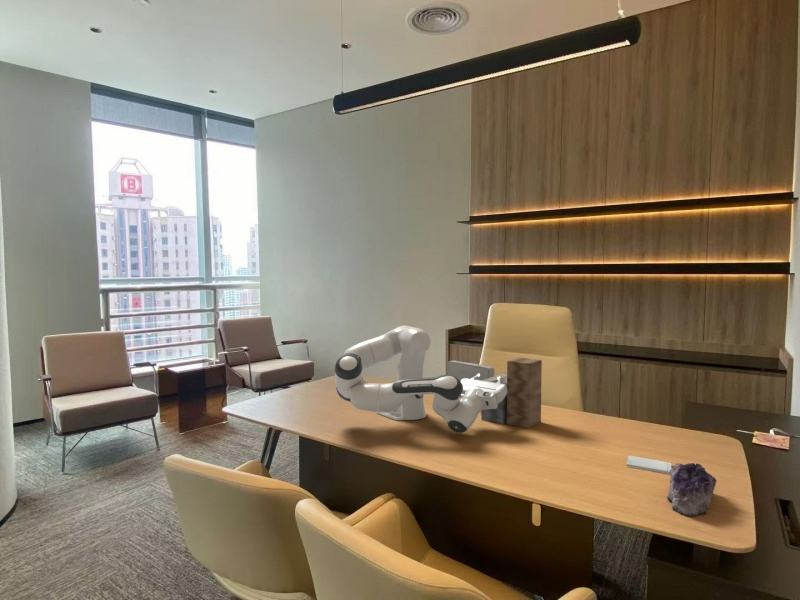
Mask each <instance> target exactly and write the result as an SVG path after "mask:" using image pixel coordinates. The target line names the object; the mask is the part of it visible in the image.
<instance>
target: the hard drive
mask: <svg viewBox="0 0 800 600" xmlns="http://www.w3.org/2000/svg"><path fill="white" fill-rule="evenodd" d="M626 468H631V469H637V470H643V471H648V472H655V473H659V474H660V473H661V474H664V475H665V474H667V475H670V470H671V469H672V468H673V467H672V462H670V461H669V462H668V461H662V460H656V459H651V458H645V457H638V456H633V455H627V461H626Z"/></svg>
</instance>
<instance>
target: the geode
mask: <svg viewBox="0 0 800 600" xmlns="http://www.w3.org/2000/svg"><path fill="white" fill-rule="evenodd" d="M671 468H672V469H671V470H670V474H669V475H670V478H669V479H670V480H669V483H670V484H669V491H668V494H667V498H666V499H667V501H670V502H671V507H672V511H673V512H675V513H678V514H679V515H681V516H683V517H686V518H693V517H698V516H703V515H704V516H705V515H706V514H707V511H708V510H709V506H710V504H711V502H712V497H713V494H714V491H715V487H716V484H717V482H718V481H717V479H716V478H715V476H713V475H712V474H710V473H708V472H707V471H706V468H705V467H703V466H702V465H701V464H700V463H693V462H691V463H686V464H682V463H679V462H677V463H675V464H674V466H672V467H671Z"/></svg>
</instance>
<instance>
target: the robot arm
mask: <svg viewBox="0 0 800 600" xmlns="http://www.w3.org/2000/svg"><path fill="white" fill-rule="evenodd" d="M430 346H431V338H430V335H429V334H428V332H426V331H425V330H423V329H422V328H419V327H414V326H410V325H406V324H405V325H399V326H396V327H395V328H393V329H391V330H389V331H388V332H386V333H383V334H381V335H378V336H376V337H373V338H370V339H366V340H363V341H361V342H359V343H356V344H354V345H352V346H350V347H349V348H346V349H345V351H344V352H343V355H342V356H340V357H339V358H338V359H337V360H336V363H335V366H334V381H335V382H334V383H335V385H336V388H335V389H336V392H337V394H338V396H339V397H340V398H341V400H344V401H345V402H350V404H351V406H352V407H353V408H355V409H357V410H360V411H365V412H371V413H376V414H378V415H380V416H383V417H386V418H388V419H389V418H390V419H392V420H395V421H415V420H422V419H424V418H426V417H427V416H428V415H427V412H426V408H425V400H424V395H434V396H433V401H432V408H433V409H432V410H433V411H434V412H435V414H437V415H438V416H440V417H441V418H442V419H443V420H444V421H445V422H446V424H447V427H448V428H449V429H450V430H451V431H453V432H455V433H457V434H458V433H459V434H463V433H465V432H467V431H468V430H469V429H470V428H472V426H473V425H474V423H475V421H476V420H477V418H478V415H479V414H480V413H481V411H482V410H487V409H496V408H497V407H498V403H500V402H501V401H502V400H503V399H504V398H505V396H506V395H507V392H508V390H507V387H506V385H505V384H501V382H502V377H498V378H497V383H494V382H488V381H481V380H480V379H481V378H482V376H481V374H477V375H476V376H475V377H473V378H471V379H468V378H463V379H462V380H461V381H460V380H459V379H458V378H456V377H455V376H452V375H447V374H444V375H443V374H442V375H439V376H435V377H424V363H425V357H426V354H427V351H428V350H429V348H430ZM398 355H401V356H400V359H399V363H398V364H397V367H396V369H397V378H396V379H397V381H394V382H389V383H387V382H386V383H379V382H376V383H375V382H374V383H373V382H367V381H366V380H364V376H363V371H364V370H365V369H368V368H371V367H375V366H378V365H379V364H384V363H386V362H388V361H390V360H392V358H394V357H395V356H398ZM478 379H479V380H478ZM460 397H462V398H460Z"/></svg>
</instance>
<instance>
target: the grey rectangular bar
mask: <svg viewBox="0 0 800 600" xmlns="http://www.w3.org/2000/svg"><path fill="white" fill-rule="evenodd" d="M498 377H502V382H501V384H505V385H506V386H507V372H506V373H505V372H503V373H501V374H497V375H494V377H491V378H488V379H485V380H482V381H488V382H494V383H497V378H498Z"/></svg>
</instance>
